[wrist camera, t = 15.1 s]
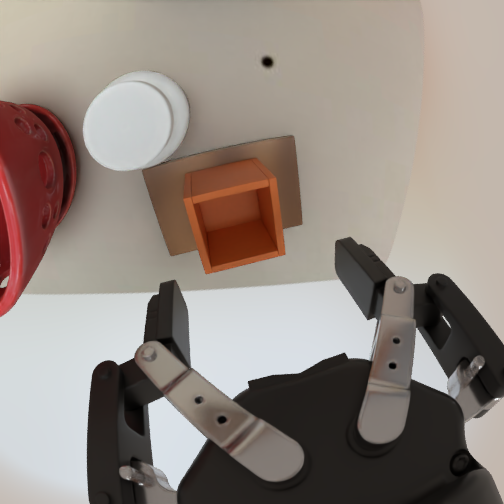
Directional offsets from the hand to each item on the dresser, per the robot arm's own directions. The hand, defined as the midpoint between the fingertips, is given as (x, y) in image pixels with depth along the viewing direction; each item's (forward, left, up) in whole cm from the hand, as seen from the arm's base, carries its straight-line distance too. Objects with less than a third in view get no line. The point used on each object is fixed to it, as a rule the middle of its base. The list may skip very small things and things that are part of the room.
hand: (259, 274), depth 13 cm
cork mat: (0, 0, -11) cm, 11 cm away
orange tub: (0, 0, -10) cm, 10 cm away
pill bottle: (+4, -8, -11) cm, 14 cm away
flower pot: (+16, -8, -11) cm, 21 cm away
